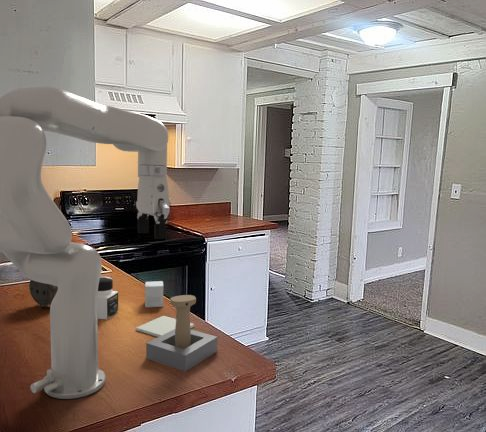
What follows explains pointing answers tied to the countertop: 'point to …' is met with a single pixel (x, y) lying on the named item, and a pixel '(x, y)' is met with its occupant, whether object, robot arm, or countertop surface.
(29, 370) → the countertop surface
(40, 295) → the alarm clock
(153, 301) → the product box
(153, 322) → the pad
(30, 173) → the robot arm
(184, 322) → the handle
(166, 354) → the pocket holder
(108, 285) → the medicine bottle
